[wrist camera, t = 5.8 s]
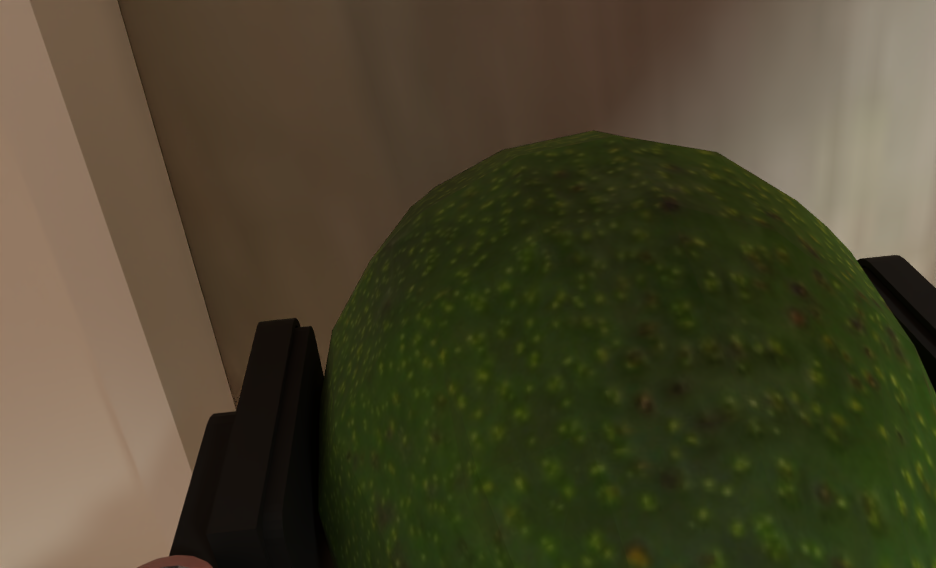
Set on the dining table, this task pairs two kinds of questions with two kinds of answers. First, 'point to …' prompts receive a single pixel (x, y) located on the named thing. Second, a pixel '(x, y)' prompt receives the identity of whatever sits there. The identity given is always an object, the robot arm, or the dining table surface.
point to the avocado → (622, 378)
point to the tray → (92, 302)
